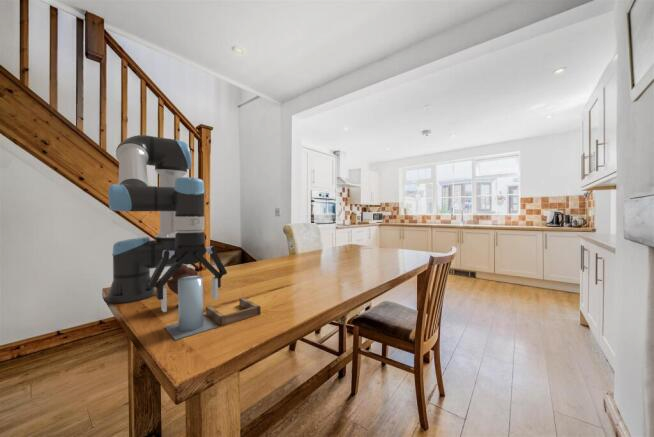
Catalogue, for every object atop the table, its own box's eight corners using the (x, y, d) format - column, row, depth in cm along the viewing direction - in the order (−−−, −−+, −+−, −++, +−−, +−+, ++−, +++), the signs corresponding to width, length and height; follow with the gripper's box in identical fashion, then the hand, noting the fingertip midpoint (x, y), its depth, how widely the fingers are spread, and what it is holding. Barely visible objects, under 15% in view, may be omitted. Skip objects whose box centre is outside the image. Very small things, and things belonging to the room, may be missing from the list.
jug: (182, 333, 69) (181, 283, 69) (173, 323, 76) (172, 276, 75) (206, 326, 74) (205, 278, 73) (196, 317, 80) (195, 273, 80)
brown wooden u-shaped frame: (206, 313, 84) (205, 306, 84) (242, 304, 93) (242, 297, 93) (221, 326, 75) (221, 317, 75) (260, 313, 84) (260, 306, 84)
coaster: (164, 327, 74) (164, 326, 74) (204, 316, 82) (204, 315, 82) (175, 340, 66) (175, 339, 66) (218, 327, 74) (218, 326, 74)
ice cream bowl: (187, 312, 85) (186, 267, 85) (159, 309, 88) (158, 266, 87) (208, 301, 96) (207, 262, 96) (182, 299, 98) (182, 261, 98)
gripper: (139, 234, 62) (140, 320, 62) (237, 230, 80) (238, 297, 80) (134, 233, 67) (136, 312, 68) (227, 229, 85) (227, 292, 85)
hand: (191, 304), depth 74 cm, fingers open, 13 cm apart
